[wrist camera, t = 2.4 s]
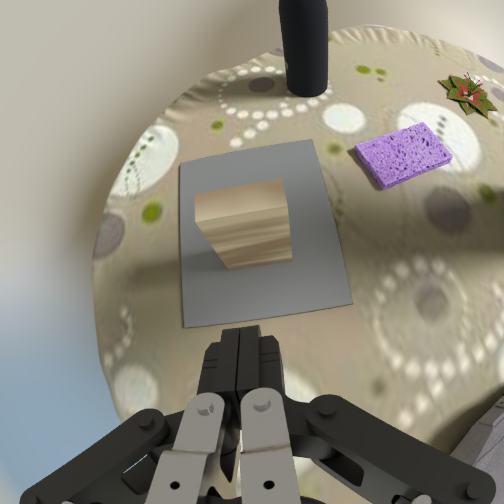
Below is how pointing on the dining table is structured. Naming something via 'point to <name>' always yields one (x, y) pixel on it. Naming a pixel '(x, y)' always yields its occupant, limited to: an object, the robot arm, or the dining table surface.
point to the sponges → (402, 154)
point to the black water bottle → (305, 45)
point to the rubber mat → (273, 275)
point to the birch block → (246, 223)
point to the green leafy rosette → (470, 87)
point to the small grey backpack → (486, 447)
